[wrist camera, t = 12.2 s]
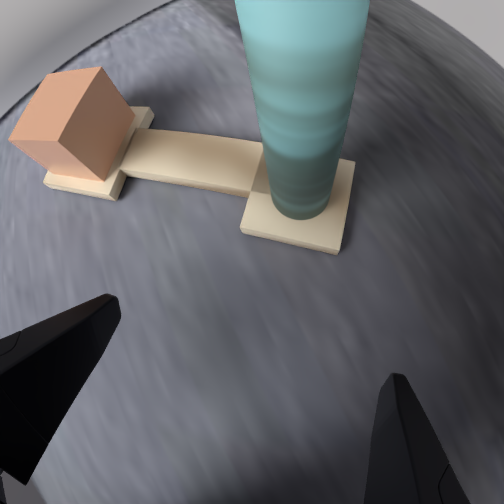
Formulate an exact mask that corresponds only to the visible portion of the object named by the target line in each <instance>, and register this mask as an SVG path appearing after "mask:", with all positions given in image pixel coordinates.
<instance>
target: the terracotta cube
mask: <svg viewBox="0 0 504 504" xmlns="http://www.w3.org/2000/svg"><path fill="white" fill-rule="evenodd" d="M134 117H135V114H134V113H133V111H132V110H131V108H130V107H129V105H128V104H127V103H126V101H125V100H124V98H123V97H122V95H121V94H120V92H119V91H118V90H117V88H116V87H115V85H114V84H113V82H112V81H111V79H110V78H109V77H108V75H107V74H106V72H105V71H104V69H103V68H102V67H93V68H85V69H78V70H71V71H64V72H58V73H52V74H48V75H47V76H46V77H45V79H44V80H43V82H42V83H41V85H40V86H39V88H38V89H37V91H36V92H35V94H34V95H33V97H32V99H31V100H30V102H29V104H28V105H27V107H26V109H25V110H24V112H23V114H22V115H21V117H20V119H19V121H18V123H17V124H16V126H15V128H14V130H13V132H12V134H11V136H10V137H9V139H8V140H9V141H10V142H11V143H13V144H14V145H15V146H17V147H18V148H19V149H20V150H22V151H23V152H24V153H26V154H27V155H28V156H30V157H31V158H32V159H34V160H35V161H36V162H38V163H39V164H40V165H42V166H43V167H44V168H46V169H47V170H48V171H50V172H51V173H52V174H56V175H63V176H69V177H76V178H82V179H88V180H94V181H101V182H105V179H106V177H107V174H108V172H109V170H110V168H111V165H112V163H113V161H114V159H115V156H116V154H117V152H118V150H119V148H120V146H121V144H122V141H123V139H124V137H125V135H126V133H127V131H128V129H129V127H130V125H131V123H132V121H133V119H134Z"/></svg>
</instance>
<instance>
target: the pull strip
mask: <svg viewBox="0 0 504 504" xmlns="http://www.w3.org/2000/svg"><path fill="white" fill-rule="evenodd" d="M369 2H370V0H235V4H236V9H237V14H238V19H239V24H240V29H241V33H242V38H243V43H244V48H245V53H246V59H247V64H248V69H249V74H250V79H251V85H252V90H253V95H254V101H255V106H256V111H257V117H258V122H259V128H260V134H261V139H262V143H260V142H254V141H248V140H241V139H234V138H227V137H220V136H213V135H205V134H196V133H187V132H178V131H167V130H156V129H148V128H149V126H150V124H151V122H152V120H153V118H154V116H155V115H154V114H153V112H152V110H151V109H150V107H134V106H129V107H130V108H131V110H132V111H133V113H134V114H135V117H134V119H133V121H132V123H131V125H130V127H129V129H128V131H127V133H126V135H125V137H124V139H123V141H122V144H121V146H120V148H119V150H118V152H117V154H116V156H115V159H114V161H113V163H112V165H111V168H110V170H109V172H108V174H107V177H106V179H105V182H101V181H94V180H88V179H82V178H76V177H69V176H63V175H56V174H52V173H51V172H50V171H48V172H47V174H46V176H45V179H44V181H43V183H44V184H45V185H47V186H48V187H50V188H53V189H58V190H63V191H68V192H73V193H78V194H83V195H88V196H93V197H98V198H103V199H108V200H113V201H117V199H118V197H119V194H120V192H121V189H122V187H123V184H124V182H125V179H126V177H127V176H130V177H136V178H143V179H149V180H155V181H161V182H167V183H172V184H178V185H184V186H189V187H195V188H200V189H206V190H211V191H216V192H221V193H226V194H232V195H237V196H242V197H246V198H248V201H247V205H246V208H245V211H244V215H243V218H242V221H241V225H240V229H241V231H242V233H244V234H249V235H253V236H257V237H262V238H266V239H270V240H275V241H279V242H283V243H287V244H292V245H296V246H300V247H304V248H309V249H313V250H317V251H321V252H325V253H329V254H334V255H337V254H338V252H339V250H340V245H341V240H342V235H343V230H344V225H345V220H346V215H347V209H348V204H349V198H350V192H351V186H352V180H353V174H354V168H355V162H353V161H349V160H345V159H341V158H340V154H341V149H342V145H343V140H344V136H345V132H346V127H347V122H348V118H349V113H350V108H351V104H352V99H353V94H354V89H355V84H356V79H357V73H358V68H359V63H360V57H361V52H362V46H363V40H364V34H365V28H366V22H367V16H368V9H369Z"/></svg>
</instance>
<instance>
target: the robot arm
mask: <svg viewBox="0 0 504 504" xmlns="http://www.w3.org/2000/svg"><path fill="white" fill-rule="evenodd" d="M120 319H121V311H120V306H119V301H118V298H117V297H116V296H114V295H111V294H103V295H101V296H99V297H96V298H94V299H92V300H89V301H87V302H85V303H82V304H80V305H78V306H75V307H73V308H71V309H69V310H66V311H64V312H62V313H59V314H57V315H55V316H53V317H50V318H48V319H46V320H43V321H41V322H39V323H37V324H34V325H32V326H30V327H28V328H25V329H23V330H22V331H18V332H16V333H14V334H12V335H9V336H7V337H5V338H2V339H0V475H1V474H2V472H3V471H5V472H6V473H8V474H9V475H11V476H12V477H13V478H15V479H16V480H18V481H19V482H20V483H22V484H23V485H26V484H27V483H28V481H29V479H30V477H31V475H32V474H33V472H34V470H35V468H36V466H37V464H38V462H39V461H40V459H41V457H42V455H43V453H44V452H45V450H46V448H47V446H48V443H49V442H50V441H51V439H52V437H53V435H54V434H55V432H56V430H57V428H58V427H59V425H60V423H61V422H62V420H63V418H64V416H65V415H66V413H67V411H68V410H69V408H70V406H71V405H72V403H73V401H74V400H75V398H76V396H77V395H78V393H79V392H80V390H81V388H82V387H83V385H84V384H85V382H86V380H87V379H88V377H89V376H90V374H91V372H92V371H93V369H94V368H95V366H96V365H97V363H98V361H99V360H100V358H101V357H102V355H103V353H104V351H105V349H106V347H107V345H108V343H109V341H110V339H111V337H112V335H113V333H114V332H115V330H116V328H117V326H118V324H119V322H120ZM0 504H7V503H6V498H5V494H4V488H3V482H2V477H1V476H0ZM364 504H470V502H469V500H468V498H467V497H466V495H465V493H464V491H463V489H462V487H461V486H460V484H459V482H458V480H457V478H456V475H455V473H454V471H453V469H452V467H451V465H450V464H449V461H448V459H447V457H446V454H445V452H444V450H443V448H442V446H441V444H440V442H439V440H438V438H437V436H436V434H435V432H434V430H433V428H432V426H431V424H430V422H429V420H428V418H427V416H426V414H425V412H424V410H423V408H422V406H421V405H420V403H419V401H418V399H417V397H416V395H415V393H414V391H413V389H412V388H411V386H410V384H409V382H408V380H407V378H406V377H405V375H403V374H399V373H391V374H390V376H389V377H388V379H387V380H386V382H385V383H384V385H383V386H382V388H381V390H380V393H379V398H378V404H377V410H376V416H375V421H374V426H373V432H372V438H371V447H370V458H369V467H368V476H367V484H366V491H365V498H364Z"/></svg>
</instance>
